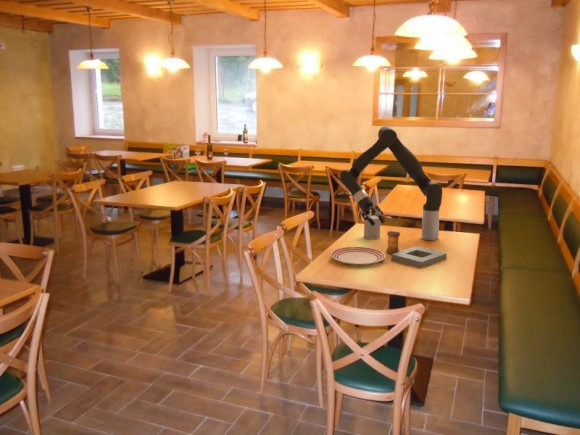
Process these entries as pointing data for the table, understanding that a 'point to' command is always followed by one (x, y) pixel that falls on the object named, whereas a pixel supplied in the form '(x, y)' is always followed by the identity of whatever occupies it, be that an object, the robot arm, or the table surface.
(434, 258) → the grey rectangular frame
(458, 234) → the table surface
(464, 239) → the table surface
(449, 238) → the table surface
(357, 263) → the dinner plate
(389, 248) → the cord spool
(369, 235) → the speckled tan cylinder
